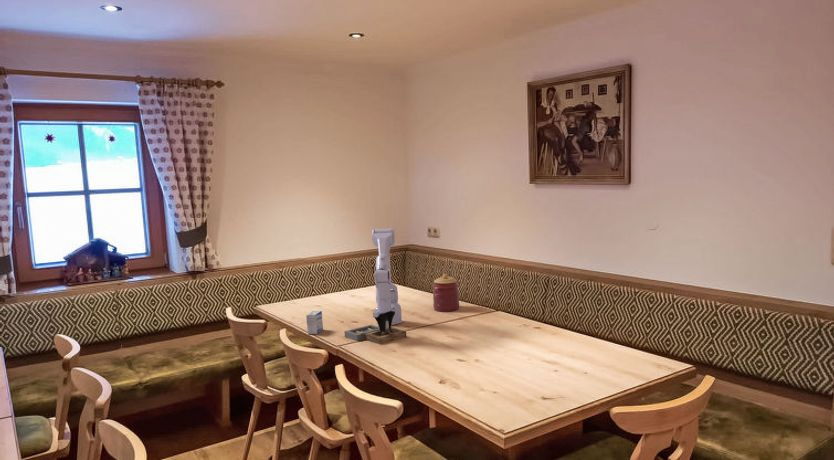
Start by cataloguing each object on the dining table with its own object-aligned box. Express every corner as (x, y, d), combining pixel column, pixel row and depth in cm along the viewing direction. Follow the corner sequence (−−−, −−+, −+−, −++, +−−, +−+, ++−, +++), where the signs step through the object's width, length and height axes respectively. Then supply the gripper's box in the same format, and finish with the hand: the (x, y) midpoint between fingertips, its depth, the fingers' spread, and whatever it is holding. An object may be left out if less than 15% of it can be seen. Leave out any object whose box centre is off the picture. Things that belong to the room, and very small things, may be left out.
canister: (464, 307, 299) (462, 272, 297) (451, 313, 288) (450, 277, 286) (441, 305, 306) (440, 270, 304) (428, 310, 295) (426, 275, 293)
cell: (383, 333, 253) (382, 317, 252) (391, 333, 251) (390, 318, 251) (379, 335, 250) (378, 320, 249) (386, 335, 248) (385, 320, 248)
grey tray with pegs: (371, 329, 265) (371, 323, 264) (384, 333, 257) (383, 326, 257) (344, 336, 256) (344, 329, 255) (357, 340, 248) (356, 333, 248)
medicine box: (316, 334, 261) (315, 315, 261) (307, 334, 262) (306, 314, 261) (323, 329, 269) (322, 310, 268) (313, 329, 270) (312, 310, 269)
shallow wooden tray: (392, 332, 259) (391, 326, 259) (406, 336, 251) (406, 331, 251) (365, 339, 250) (364, 333, 250) (379, 344, 242) (378, 338, 242)
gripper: (385, 293, 257) (386, 324, 259) (365, 301, 245) (367, 333, 246) (399, 294, 254) (400, 326, 255) (380, 302, 241) (382, 335, 243)
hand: (385, 330), depth 250 cm, fingers closed on cell, 4 cm apart
